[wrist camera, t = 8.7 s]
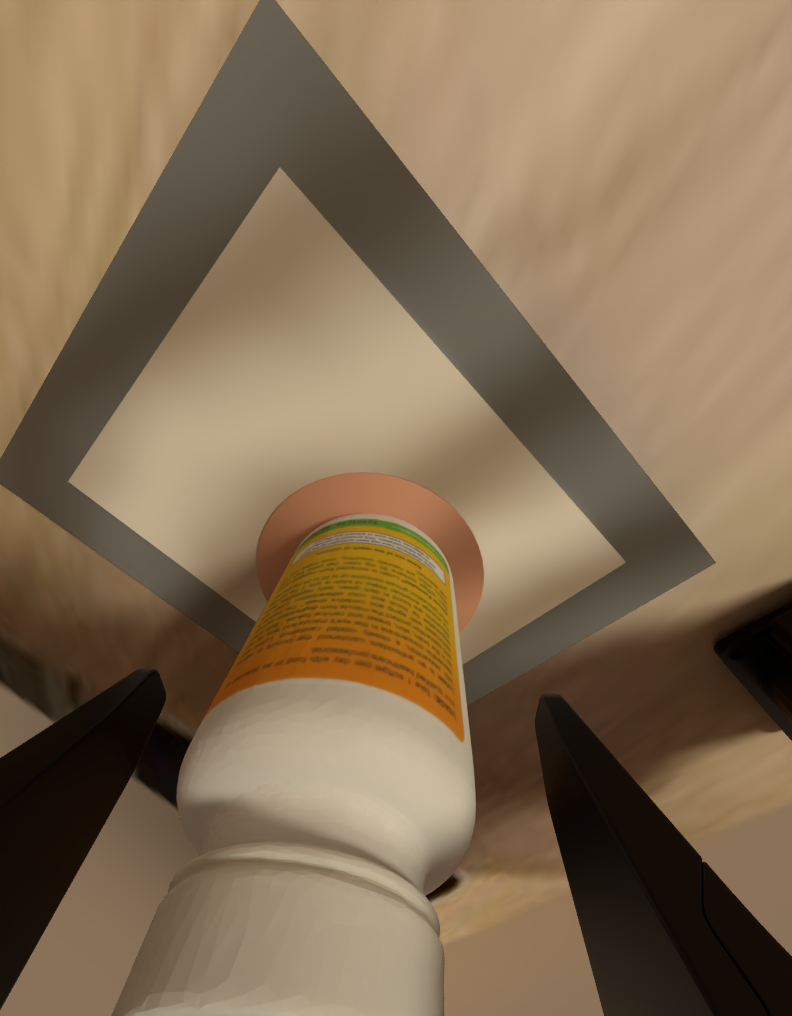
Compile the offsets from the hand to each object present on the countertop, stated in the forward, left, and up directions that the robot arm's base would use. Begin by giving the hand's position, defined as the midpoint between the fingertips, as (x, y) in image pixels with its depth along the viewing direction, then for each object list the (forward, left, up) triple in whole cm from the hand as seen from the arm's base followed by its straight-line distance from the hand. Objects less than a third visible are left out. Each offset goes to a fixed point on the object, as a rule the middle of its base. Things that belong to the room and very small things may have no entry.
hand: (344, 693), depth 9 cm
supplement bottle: (0, 0, -5) cm, 5 cm away
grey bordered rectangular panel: (+2, -1, -6) cm, 6 cm away
